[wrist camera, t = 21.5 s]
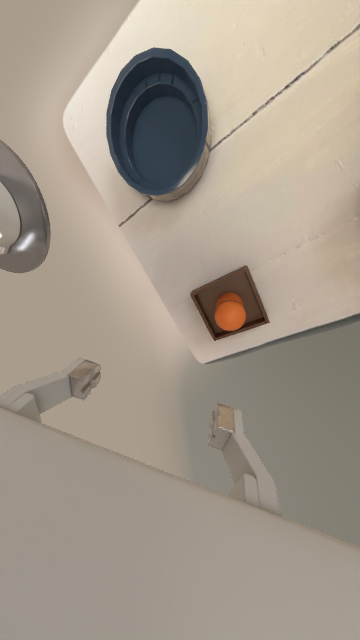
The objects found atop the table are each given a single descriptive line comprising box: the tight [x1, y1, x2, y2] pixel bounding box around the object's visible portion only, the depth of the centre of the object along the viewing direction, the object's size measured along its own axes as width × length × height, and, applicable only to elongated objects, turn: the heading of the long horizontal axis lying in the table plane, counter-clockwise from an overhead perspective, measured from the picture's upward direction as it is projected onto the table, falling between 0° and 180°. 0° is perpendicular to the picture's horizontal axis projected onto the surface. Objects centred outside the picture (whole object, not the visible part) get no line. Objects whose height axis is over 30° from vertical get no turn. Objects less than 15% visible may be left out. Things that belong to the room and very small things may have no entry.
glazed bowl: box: [107, 48, 211, 201], centre depth 26 cm, size 14×14×5 cm
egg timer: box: [214, 292, 246, 331], centre depth 32 cm, size 5×5×8 cm
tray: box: [190, 266, 270, 341], centre depth 35 cm, size 11×11×2 cm
